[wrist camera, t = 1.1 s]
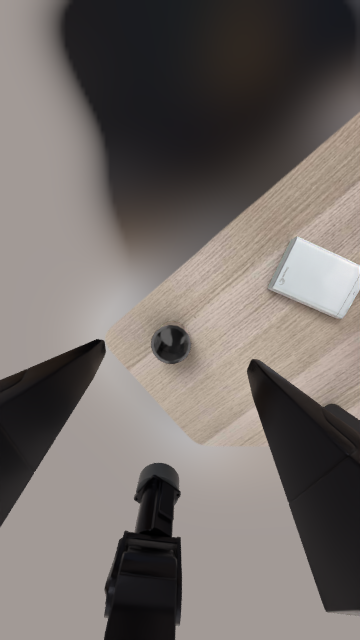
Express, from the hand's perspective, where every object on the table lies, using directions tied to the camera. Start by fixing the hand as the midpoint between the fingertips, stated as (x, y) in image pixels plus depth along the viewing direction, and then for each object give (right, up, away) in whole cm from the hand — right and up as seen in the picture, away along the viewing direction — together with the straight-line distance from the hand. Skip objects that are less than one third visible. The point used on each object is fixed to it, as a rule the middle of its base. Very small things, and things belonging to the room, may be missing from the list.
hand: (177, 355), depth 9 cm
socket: (-1, -1, +17) cm, 17 cm away
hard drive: (+22, +9, +16) cm, 28 cm away
